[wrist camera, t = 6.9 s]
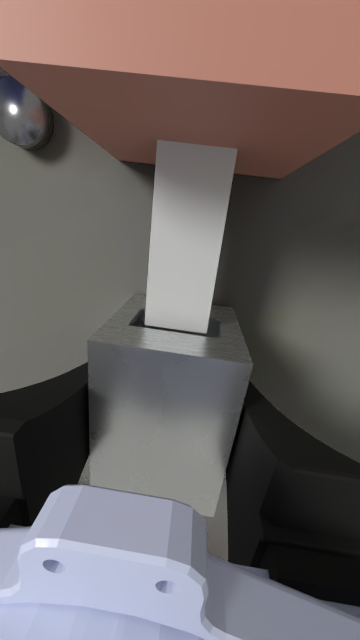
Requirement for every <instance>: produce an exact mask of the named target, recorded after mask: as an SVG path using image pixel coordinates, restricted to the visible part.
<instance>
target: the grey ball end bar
mask: <svg viewBox="0 0 360 640" xmlns="http://www.w3.org/2000/svg"><path fill="white" fill-rule="evenodd" d="M52 133H53V116H52V113H51V110H50V107H49V105H48V104H46V103H45V102H44V101H43V100H41V99H40V98H39V97H38V96H36V95H35V94H34V93H32V92H31V91H30V90H29V89H27V88H26V87H25V86H24V85H22V84H21V83H20V82H18V81H17V80H16V79H15V78H13V77H12V76H4V77H1V78H0V135H1V136H2V137H3V138H4V139H6V140H7V141H9V142H11V143H13V144H15V145H18V146H20V147H22V148H24V149H27V150H38V149H41V148H43V147H44V146H45V145H46V144H47V143H48V142H49V140H50V138H51V136H52Z"/></svg>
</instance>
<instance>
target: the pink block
mask: <svg viewBox="0 0 360 640" xmlns="http://www.w3.org/2000/svg"><path fill="white" fill-rule="evenodd" d="M0 67H1V68H2V69H3V70H4V71H6V72H7V73H8V74H10V75H11V76H12V77H13V78H15V79H16V80H17V81H18V82H20V83H21V84H22V85H24V86H25V87H26V88H27V89H29V90H30V91H31V92H32V93H34V94H35V95H36V96H38V97H39V98H40V99H41V100H43V101H44V102H45V103H46V104H48V105H49V106H50V107H51V108H53V109H54V110H55V111H57V112H58V113H59V114H60V115H62V116H63V117H64V118H65V119H67V120H68V121H69V122H71V123H72V124H73V125H74V126H76V127H77V128H78V129H79V130H81V131H82V132H83V133H85V134H86V135H87V136H88V137H90V138H91V139H92V140H93V141H95V142H96V143H97V144H99V145H100V146H101V147H102V148H104V149H105V150H106V151H107V152H109V153H110V154H111V155H113V156H114V157H115V158H116V159H118V160H121V161H129V162H138V163H147V164H156V165H155V180H154V194H153V209H152V223H151V238H150V252H149V267H148V281H147V296H146V310H145V325H149V326H156V327H163V328H170V329H177V330H184V331H191V332H198V333H206V334H207V328H208V322H209V316H210V310H211V304H212V298H213V292H214V286H215V280H216V274H217V268H218V262H219V257H220V251H221V245H222V239H223V233H224V227H225V221H226V215H227V209H228V203H229V197H230V191H231V186H232V180H233V174H242V175H251V176H260V177H268V178H277V179H282V178H284V177H285V176H287V175H289V174H290V173H292V172H294V171H295V170H297V169H299V168H300V167H302V166H304V165H305V164H307V163H309V162H310V161H312V160H314V159H315V158H317V157H319V156H320V155H322V154H324V153H325V152H327V151H329V150H330V149H332V148H334V147H335V146H337V145H339V144H340V143H342V142H343V141H345V140H347V139H348V138H350V137H352V136H353V135H355V134H357V133H358V132H360V0H0Z"/></svg>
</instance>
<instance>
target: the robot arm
mask: <svg viewBox="0 0 360 640" xmlns="http://www.w3.org/2000/svg"><path fill="white" fill-rule="evenodd" d="M89 454H90V450H89V394H88V362H87V363H85V364H83V365H81V366H79V367H77V368H75V369H73V370H71V371H69V372H67V373H64V374H62V375H60V376H57V377H55V378H52V379H49V380H47V381H44V382H41V383H37V384H34V385H31V386H27V387H24V388H21V389H17V390H13V391H9V392H4V393H0V640H360V463H358V462H356V461H354V460H352V459H350V458H348V457H347V456H345V455H343V454H341V453H339V452H337V451H335V450H334V449H332V448H330V447H329V446H327V445H325V444H324V443H322V442H320V441H319V440H317V439H316V438H314V437H313V436H311V435H309V434H308V433H307V432H305V431H304V430H302V429H301V428H300V427H298V426H297V425H295V424H294V423H293V422H292V421H290V420H289V419H288V418H287V417H285V416H284V415H283V414H282V413H281V412H279V411H278V410H277V409H276V408H275V407H274V406H273V405H272V404H271V403H270V402H269V401H268V400H267V399H266V398H265V397H264V396H263V395H262V394H261V393H260V392H259V391H258V390H257V389H256V388H255V387H254V385H253V384H252V383H251V382H250V381H249V383H248V387H247V391H246V395H245V399H244V403H243V406H242V410H241V414H240V418H239V422H238V426H237V429H236V433H235V437H234V441H233V445H232V449H231V452H230V456H229V460H228V464H227V468H226V482H227V510H228V561H225V560H223V559H220V558H218V557H216V556H213V555H211V554H209V553H208V532H207V526H206V520H205V519H204V518H203V517H202V516H201V515H200V514H199V513H198V512H197V511H196V510H195V509H194V508H193V507H192V506H190V505H188V504H185V503H182V502H179V501H177V500H174V499H169V498H163V497H158V496H152V495H146V494H140V493H134V492H128V491H122V490H116V489H110V488H105V487H99V486H93V485H87V484H77V483H78V481H79V478H80V476H81V473H82V471H83V468H84V466H85V464H86V461H87V459H88V456H89Z"/></svg>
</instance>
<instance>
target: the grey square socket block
mask: <svg viewBox="0 0 360 640" xmlns="http://www.w3.org/2000/svg"><path fill="white" fill-rule="evenodd" d="M146 296H147V295H140V294H134V295H133V296H132V297H131V298H130V299H129V300H128V301H127V302H126V303H125V304H124V305H123V306H122V307H121V308H120V309H119V310H118V311H117V312H116V313H115V314H114V315H112V316H111V317H110V318H109V319H108V320H107V321H106V322H105V323H104V324H103V325H102V326H101V327H100V328H99V329H98V330H97V331H96V332H95V333H94V334H93V335H92V336H91V337H90V338H89V339H88V394H89V450H90V485H93V486H99V487H105V488H110V489H116V490H122V491H128V492H134V493H140V494H146V495H152V496H158V497H163V498H169V499H174V500H177V501H179V502H182V503H185V504H188V505H190V506H192V507H193V508H194V509H195V510H196V511H197V512H198V513H199V514H200V515H204V516H210V517H214V514H215V510H216V506H217V502H218V498H219V495H220V491H221V487H222V483H223V479H224V475H225V472H226V468H227V464H228V460H229V456H230V452H231V449H232V445H233V441H234V437H235V433H236V429H237V426H238V422H239V418H240V414H241V410H242V406H243V403H244V399H245V395H246V391H247V387H248V383H249V380H250V376H251V372H252V368H253V362H252V359H251V357H250V354H249V351H248V348H247V345H246V343H245V340H244V337H243V334H242V331H241V329H240V326H239V323H238V320H237V317H236V315H235V312H234V309H233V307H226V306H218V305H211V310H210V316H209V322H208V328H207V334H206V333H198V332H191V331H184V330H177V329H170V328H163V327H156V326H149V325H145V310H146Z"/></svg>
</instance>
